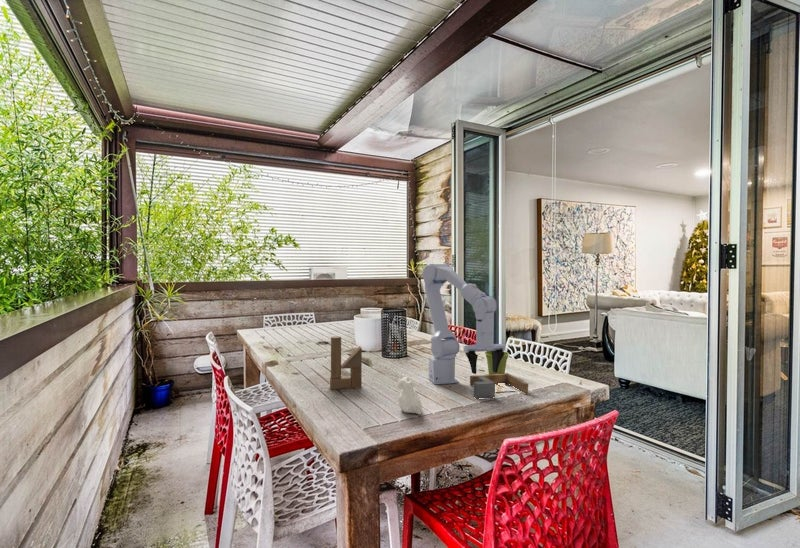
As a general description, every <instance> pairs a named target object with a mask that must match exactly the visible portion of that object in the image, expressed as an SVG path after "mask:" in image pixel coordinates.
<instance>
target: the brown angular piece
mask: <svg viewBox="0 0 800 548" xmlns="http://www.w3.org/2000/svg"><path fill="white" fill-rule="evenodd" d="M362 349H363V348H362V346H361V345H359V346H358V347H357V348H356V350H355V351H353V352H352V354H351V355H350V356H348V358H347V359H346V360H345V361H343V363H342V337H341V336H338V335H335V336H331V337H330V377H329V388H330V390H331V389H332V390H343V389H344V388H347V389H357V388H356V387H361V388H362V378H363V377H362V365H363V364H362V362H363V361H362V354H363V353H362ZM342 369H343V370H344V369H350V376H346V375H343V376H342ZM344 390H345V389H344Z"/></svg>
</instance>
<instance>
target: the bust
mask: <svg viewBox="0 0 800 548" xmlns="http://www.w3.org/2000/svg"><path fill="white" fill-rule="evenodd" d="M396 384H397V385H396V386H397V387H396V388H397V389H400V390H401V391H400V394H399V395H398V400H397V402H398V406H399V408H400V409H401V411H403V412H404V413H405V414H406V413H409V414H417V415H421V414H422V411H423V405H422V401H421V399H420V397H419V394H418V393H417V392H416V391H415V390H414V387H415V385H416V384H415V382H413V380H412V379H410V377H407V376H406V375H405V376H404V377H400V378H398V379H397V382H396Z"/></svg>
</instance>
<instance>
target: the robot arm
mask: <svg viewBox="0 0 800 548" xmlns="http://www.w3.org/2000/svg"><path fill="white" fill-rule="evenodd" d="M424 266H425V267H424V268H423V271H422V277H423V282H424V290H425V294H426V295H425V296H426V299H427V303H428V304H427V305H428V308H429V312H430V313H429V314H430V317H431V322H432V325H433V330H434V334H433V335H432V337H431V338H430V343H431V346H430V349H431V353H432V355H433V356H434V357H430V358H429V360H428V378H427V379H428V380H429V381H430V382H432V384H434V385H446V384H458V383H460V381H458V379H457V378H456V357H457V354H459V352H460V343H459V340H458V339H457V337H456V334H455V333H454V332H452V331H451V330H450V328H449V322H448V319H447V315H446V311H445V310H446V309H445V307H444V302H443V298H442V294H441V288H442V287H443V286H445V284H446V283H447V282H448V283H449V284H451V285H452V286H453V287H454V288H456V289H457V290H459V291H460V296H461V297H462V298H463V299H464V300H465V301H466V302H467V303H469V304H470V305H471V306H472V310H473V312H474V316H475V317H474V318H475V319H476V322H475V323H476V325H475V328H476V329H475V330H476V331H475V335H476V337H475V340H476V341H475V344H469V345H463V352H464V353H465V355H466V358H467V360H468V363H469V365H470V370H471V373H472V374H473V375H476V374H477V363H478V357H479V356H478V354H477V353H476V352H486V351H491V353H492V370H493V372H495V373H497V371H498V367H499V364H500V361H501V359H502V357H503V356H504V352H503V351H505V352H507V348H506V346H507V345H506V344H503V343H494V331H495V330H494V326H495V325H494V321H495V320H494V318H495V317H494V316H495V314H494V313H495V312H496V311H497V310H498V309H497V308H498V302H497V300H496V299H495V298H494V296H491V295H487V293H485V291H484V292H483V291H482V290H480V289H479V288H478V286H477V284H476V283H467V282H466V281H465V280H464V279H463V278H462V277H461V276H460V275H459V274H458V273H457V272H455V270H454V268H453V266H451V265H450V264H449V263H427V264H426V265H424Z"/></svg>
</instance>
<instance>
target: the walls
mask: <svg viewBox="0 0 800 548" xmlns="http://www.w3.org/2000/svg"><path fill="white" fill-rule="evenodd" d="M483 376H484V377H486V378H488V379H489V380H491V381H492V382H494V383H495V384H498V383H508V384H510V385H512V386H514V387H515V388H517V389H519V390H520V391H522V392H524V393H528V394H529V383H527V382H526V381H523V380H522V379H519V378H518V377H517V376H514V375H512V374H510V373H508V372H506V373H505V374H491V375H489V374H479V375H476V374H474V375H469V386H470V385H471V386H470V387H473V386H472V385H474V382H478V377H483ZM508 384H507V385H508ZM510 385H509V386H510ZM512 386H511V387H512ZM515 388H514V389H515ZM517 389H516V390H517ZM520 391H519V392H520ZM522 392H521V393H522ZM524 393H523V394H524Z"/></svg>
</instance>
